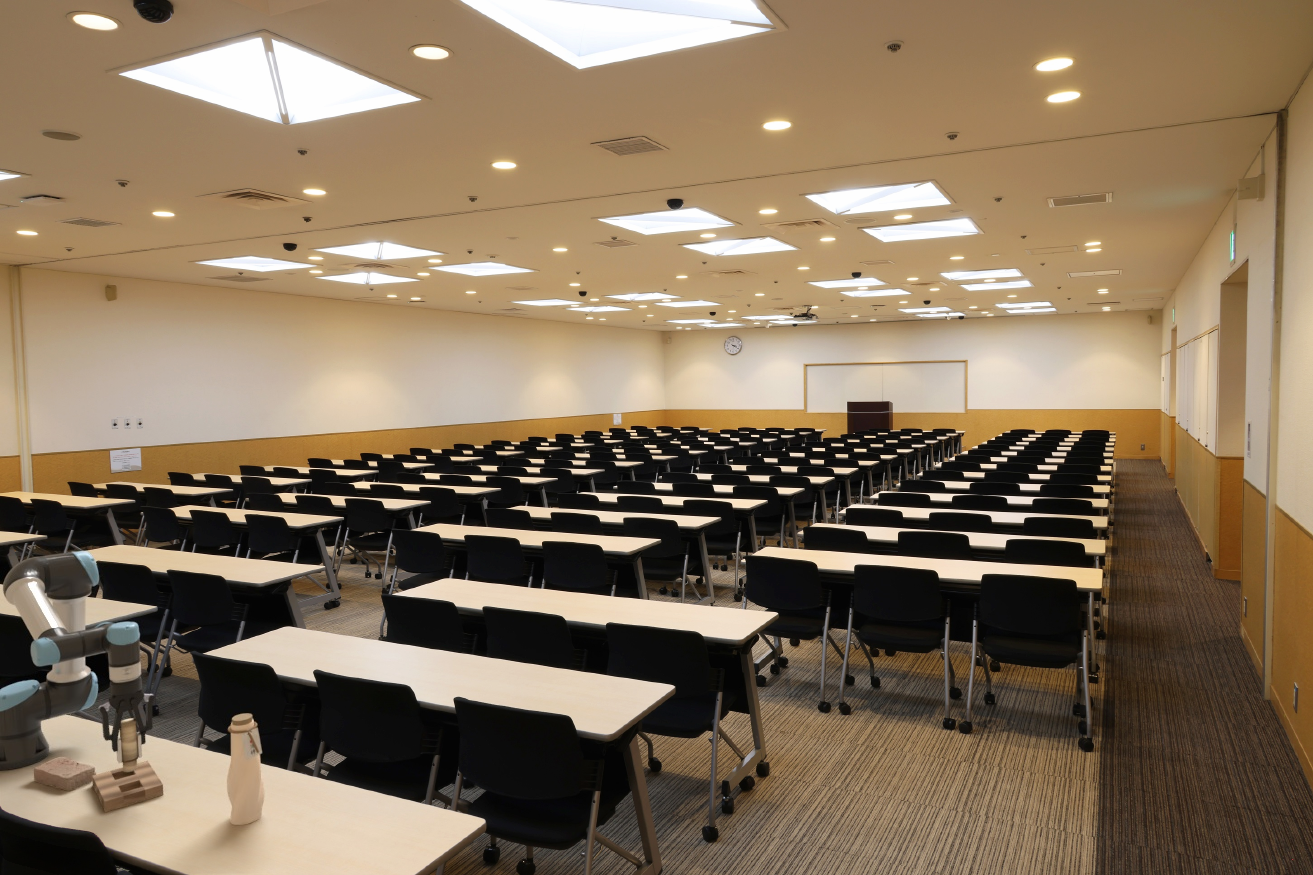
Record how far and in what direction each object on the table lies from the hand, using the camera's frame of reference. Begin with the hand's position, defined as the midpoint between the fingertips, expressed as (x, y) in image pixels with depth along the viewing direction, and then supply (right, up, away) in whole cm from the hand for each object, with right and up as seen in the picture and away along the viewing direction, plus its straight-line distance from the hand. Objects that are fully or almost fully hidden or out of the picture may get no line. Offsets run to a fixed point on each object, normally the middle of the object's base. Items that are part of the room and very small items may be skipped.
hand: (129, 758), depth 232 cm
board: (-3, -11, +5) cm, 12 cm away
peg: (0, -3, 0) cm, 3 cm away
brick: (-26, -11, +11) cm, 30 cm away
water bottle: (+39, -12, -11) cm, 42 cm away
